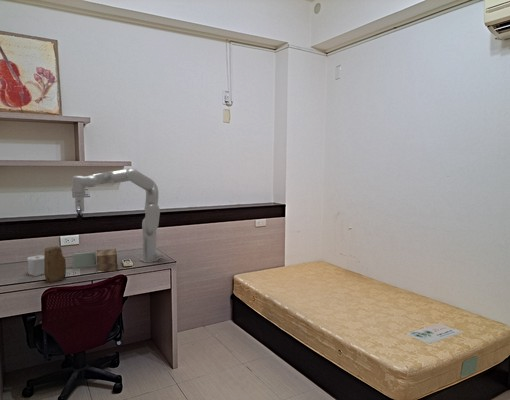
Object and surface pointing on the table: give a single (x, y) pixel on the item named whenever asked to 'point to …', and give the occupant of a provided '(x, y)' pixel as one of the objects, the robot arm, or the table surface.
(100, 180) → the robot arm
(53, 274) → the block
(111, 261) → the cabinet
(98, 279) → the table surface
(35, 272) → the toilet tissue
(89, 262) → the green rectangular block
